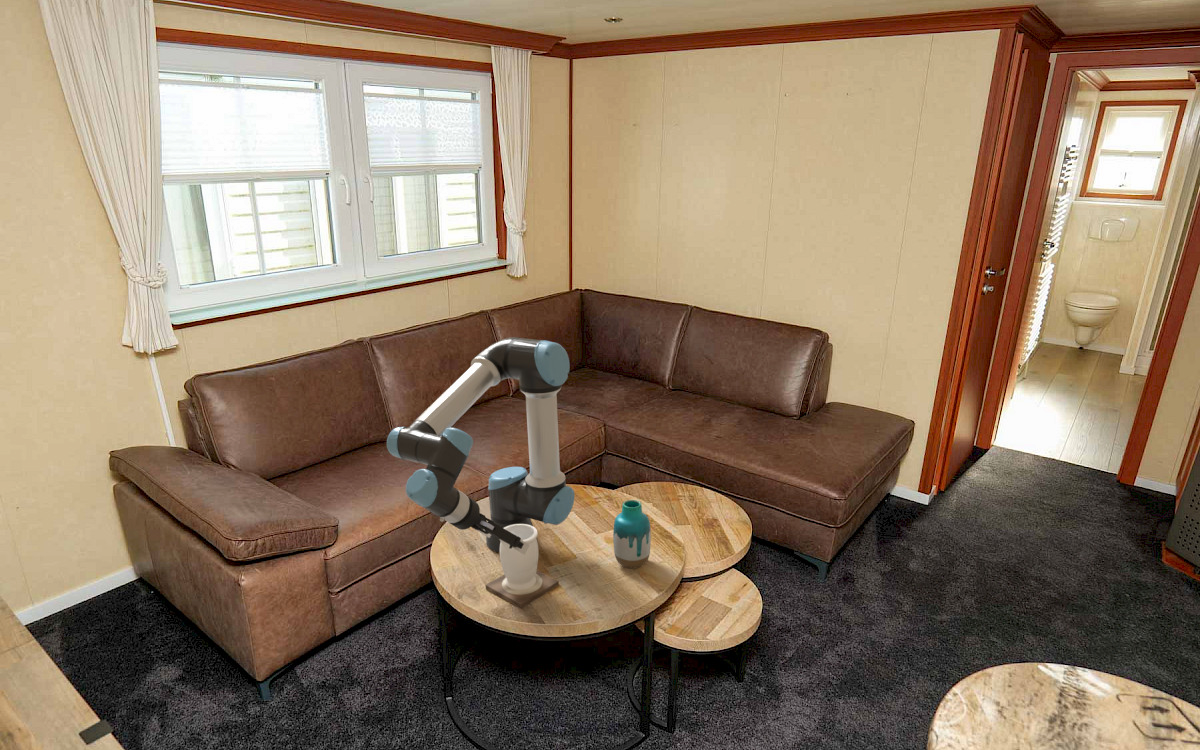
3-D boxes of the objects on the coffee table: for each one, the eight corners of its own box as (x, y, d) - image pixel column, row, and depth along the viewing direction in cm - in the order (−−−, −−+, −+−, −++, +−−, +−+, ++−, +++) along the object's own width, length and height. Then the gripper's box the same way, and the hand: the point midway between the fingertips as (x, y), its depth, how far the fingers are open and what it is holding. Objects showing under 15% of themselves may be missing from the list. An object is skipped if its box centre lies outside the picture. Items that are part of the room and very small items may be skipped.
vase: (647, 576, 192) (648, 513, 187) (610, 572, 194) (609, 510, 189) (652, 556, 202) (653, 496, 197) (617, 553, 204) (616, 494, 199)
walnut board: (485, 588, 187) (485, 584, 187) (523, 567, 197) (523, 563, 197) (521, 608, 178) (520, 604, 178) (558, 584, 189) (558, 580, 188)
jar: (497, 576, 191) (494, 527, 187) (533, 568, 194) (531, 520, 190) (506, 596, 181) (503, 545, 177) (544, 588, 185) (542, 537, 181)
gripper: (419, 508, 172) (470, 539, 187) (484, 540, 156) (534, 570, 171) (434, 482, 174) (484, 514, 189) (500, 510, 159) (548, 543, 174)
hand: (508, 541), depth 180 cm, fingers open, 13 cm apart
